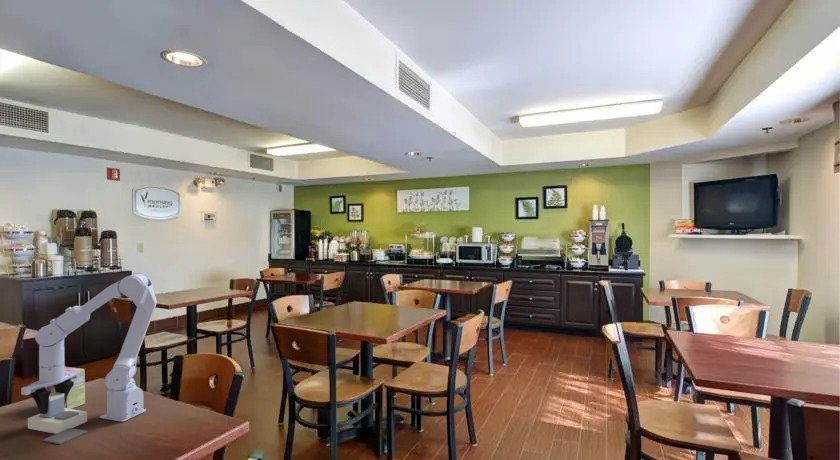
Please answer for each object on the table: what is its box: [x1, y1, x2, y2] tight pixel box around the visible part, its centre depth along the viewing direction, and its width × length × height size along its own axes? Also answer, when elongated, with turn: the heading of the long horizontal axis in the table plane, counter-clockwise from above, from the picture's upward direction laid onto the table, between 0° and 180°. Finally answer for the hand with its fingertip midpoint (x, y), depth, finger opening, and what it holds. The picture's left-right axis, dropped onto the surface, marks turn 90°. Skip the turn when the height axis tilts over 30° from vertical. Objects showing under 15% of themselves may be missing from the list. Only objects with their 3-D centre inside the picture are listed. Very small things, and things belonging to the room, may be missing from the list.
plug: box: [39, 392, 64, 419], centre depth 126 cm, size 4×4×8 cm
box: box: [45, 366, 86, 409], centre depth 139 cm, size 10×6×12 cm, turn 73°
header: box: [27, 408, 88, 435], centre depth 125 cm, size 12×8×4 cm, turn 75°
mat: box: [42, 427, 88, 445], centre depth 119 cm, size 6×7×1 cm
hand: (52, 409), depth 126 cm, fingers closed on plug, 4 cm apart
